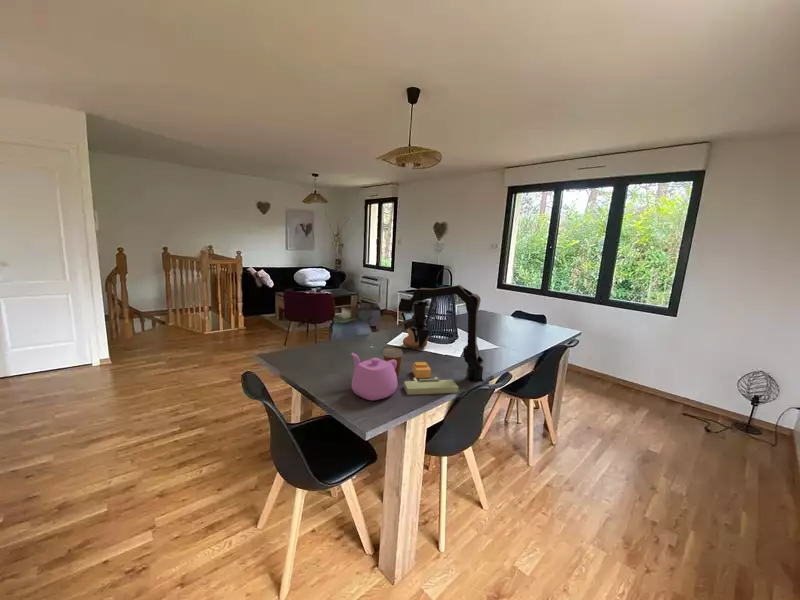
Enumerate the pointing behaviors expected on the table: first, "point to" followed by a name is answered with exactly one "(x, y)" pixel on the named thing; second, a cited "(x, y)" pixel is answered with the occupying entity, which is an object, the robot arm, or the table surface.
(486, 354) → the table surface
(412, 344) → the ceramic jug
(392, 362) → the teapot
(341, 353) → the table surface
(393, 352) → the disposable coffee cup
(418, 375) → the orange block with panel
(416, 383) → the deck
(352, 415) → the table surface
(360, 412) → the table surface
